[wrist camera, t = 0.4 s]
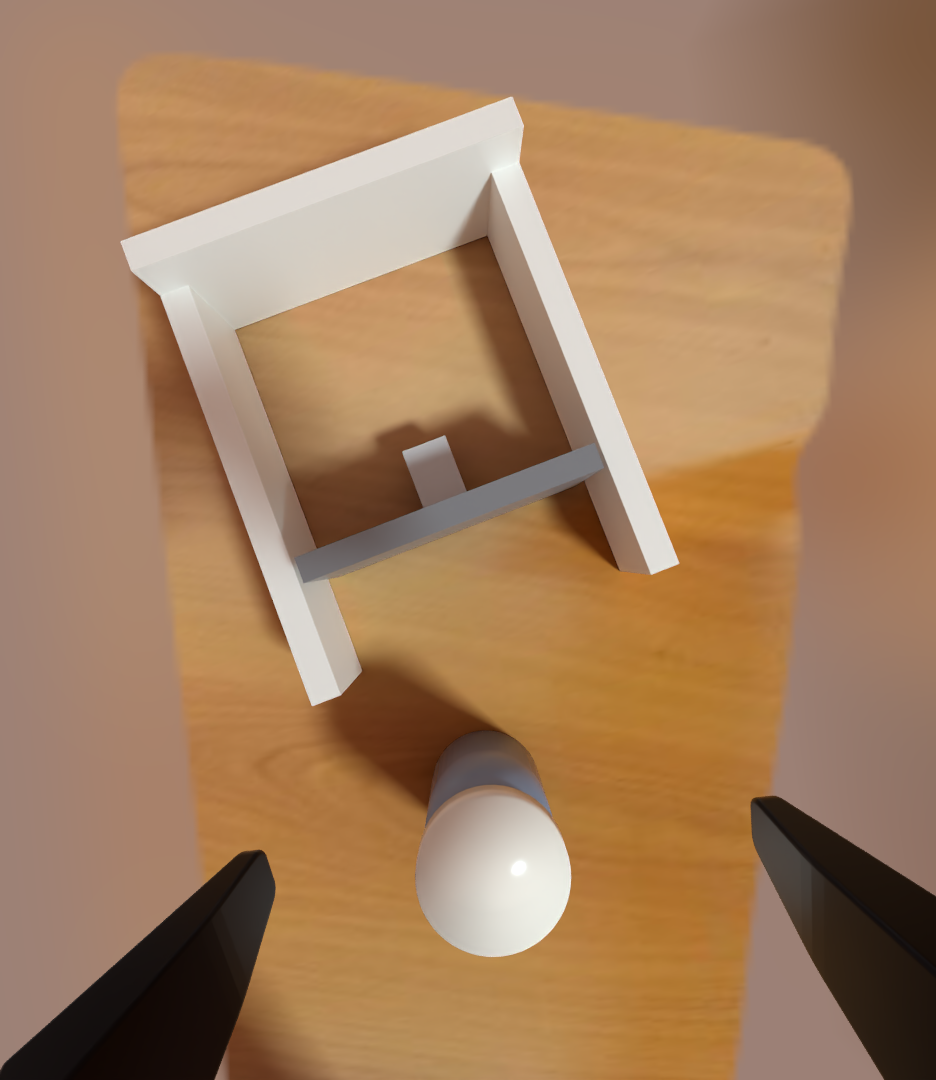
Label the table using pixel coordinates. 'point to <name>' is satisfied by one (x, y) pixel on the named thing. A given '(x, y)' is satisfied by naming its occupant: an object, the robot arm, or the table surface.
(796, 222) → the table surface
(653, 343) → the table surface
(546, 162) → the table surface
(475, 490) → the pusher
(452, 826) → the jar
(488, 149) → the lane
